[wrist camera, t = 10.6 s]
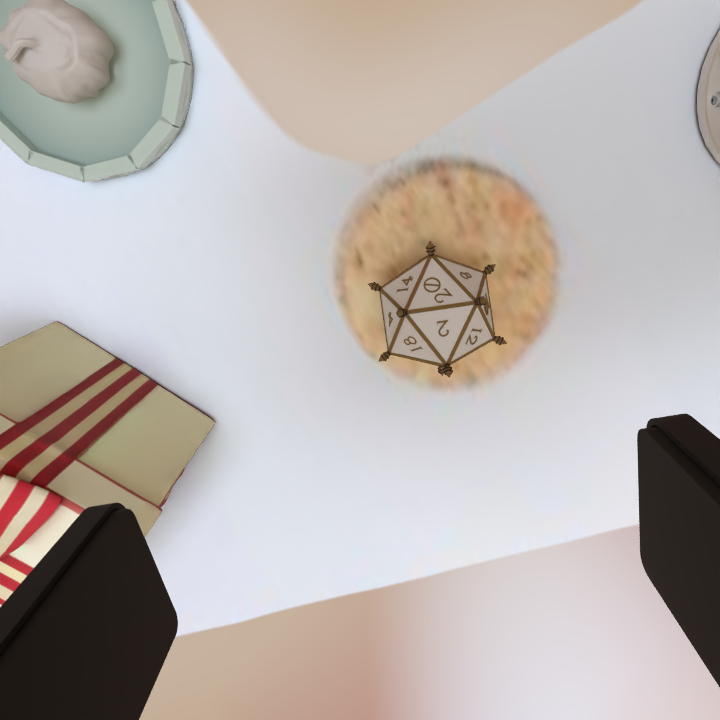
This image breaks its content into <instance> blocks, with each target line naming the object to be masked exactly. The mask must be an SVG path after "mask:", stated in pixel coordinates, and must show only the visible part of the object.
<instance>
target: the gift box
mask: <svg viewBox="0 0 720 720" xmlns="http://www.w3.org/2000/svg"><path fill="white" fill-rule="evenodd" d="M213 425H214V422H213V420H211V419H210V418H209V417H208V416H206V415H204V414H203V413H201V412H200V411H198V410H197V409H195V408H194V407H192V406H190V405H189V404H187V403H186V402H184V401H183V400H181V399H180V398H178V397H176V396H175V395H173V394H172V393H170V392H169V391H167V390H165V389H164V388H162V387H160V386H159V385H158V384H156V383H155V382H153V381H152V380H150V379H149V378H147V377H146V376H144V375H143V374H141V373H140V372H138V371H136V370H135V369H133V368H132V367H130V366H128V365H127V364H125V363H123V362H122V361H120V360H119V359H117V358H115V357H113V356H112V355H110V354H109V353H107V352H106V351H104V350H103V349H101V348H100V347H98V346H96V345H95V344H93V343H91V342H90V341H88V340H87V339H85V338H83V337H82V336H80V335H78V334H77V333H75V332H74V331H72V330H71V329H69V328H67V327H66V326H64V325H63V324H61V323H59V322H54V323H52V324H50V325H47V326H45V327H43V328H41V329H39V330H36V331H34V332H32V333H30V334H28V335H26V336H24V337H21V338H19V339H17V340H14V341H12V342H10V343H8V344H6V345H4V346H2V347H0V607H1V606H2V605H3V603H4V602H5V601H6V600H7V599H8V598H9V596H10V595H11V594H12V593H13V592H14V591H15V589H16V588H17V587H18V586H19V585H20V584H21V582H22V581H23V580H24V579H25V578H26V577H27V576H28V574H29V573H30V572H31V571H32V570H33V569H34V567H35V566H36V565H37V564H38V563H39V562H40V560H41V559H42V558H43V557H44V556H45V555H46V553H47V552H48V551H49V550H50V549H51V548H52V547H53V545H54V544H55V543H56V542H57V541H58V540H59V538H60V537H61V536H62V535H63V534H64V533H65V531H66V530H67V529H68V528H69V527H70V526H71V524H72V523H73V522H74V521H75V520H76V519H77V517H78V516H79V515H80V514H81V513H82V512H83V511H84V510H85V509H86V508H88V507H91V506H98V505H104V504H111V503H121V504H122V505H123V506H125V508H126V509H131V510H132V511H133V513H134V514H135V516H136V519H137V521H138V523H139V526H140V528H141V531H142V533H143V535H144V537H145V536H146V534H147V533H148V531H149V530H150V528H151V527H152V526H153V524H154V523H155V521H156V520H157V518H158V517H159V515H160V514H161V512H162V509H161V508H160V507H162V506H163V505H164V503H165V502H166V500H167V498H168V496H169V494H170V490H171V488H172V487H173V485H174V484H175V482H176V481H177V479H178V478H179V477H180V476H181V475H182V473H183V471H184V468H185V466H186V465H187V463H188V462H189V460H190V459H191V457H192V456H193V454H194V453H195V452H196V450H197V449H198V447H199V446H200V444H201V443H202V441H203V440H204V438H205V437H206V435H207V434H208V433H209V431H210V430H211V428H212V427H213Z"/></svg>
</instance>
